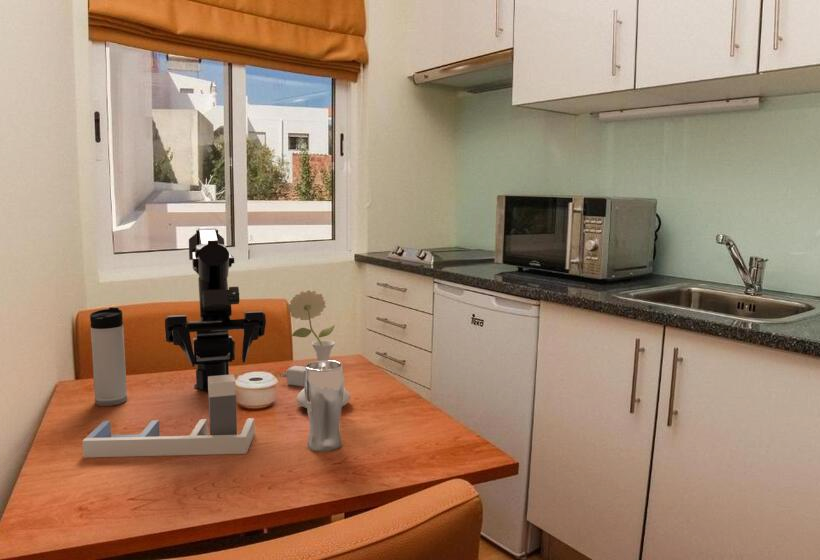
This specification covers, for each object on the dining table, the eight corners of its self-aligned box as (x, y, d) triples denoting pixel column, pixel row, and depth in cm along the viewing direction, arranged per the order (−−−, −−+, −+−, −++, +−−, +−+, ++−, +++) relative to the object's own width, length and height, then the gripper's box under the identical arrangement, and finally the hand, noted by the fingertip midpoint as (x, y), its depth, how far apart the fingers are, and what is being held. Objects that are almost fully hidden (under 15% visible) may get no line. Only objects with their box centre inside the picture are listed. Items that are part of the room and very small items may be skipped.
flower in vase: (351, 397, 141) (351, 286, 137) (348, 415, 129) (348, 295, 126) (293, 397, 140) (291, 285, 137) (284, 415, 129) (282, 294, 125)
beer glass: (350, 440, 116) (350, 361, 114) (333, 455, 110) (333, 372, 108) (316, 435, 119) (315, 358, 116) (298, 449, 112) (296, 368, 110)
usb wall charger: (303, 387, 147) (303, 371, 146) (277, 384, 149) (277, 367, 149) (312, 383, 151) (311, 366, 150) (287, 379, 153) (286, 363, 153)
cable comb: (254, 433, 119) (254, 418, 119) (246, 453, 110) (246, 437, 110) (104, 436, 117) (103, 421, 116) (83, 457, 108) (82, 440, 107)
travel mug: (133, 397, 139) (129, 307, 136) (117, 407, 132) (111, 313, 130) (106, 395, 139) (101, 306, 137) (88, 405, 133) (83, 312, 130)
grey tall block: (209, 439, 116) (207, 376, 114) (235, 436, 118) (233, 374, 116) (211, 448, 112) (208, 383, 110) (237, 445, 114) (235, 381, 112)
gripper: (163, 274, 119) (164, 344, 110) (263, 271, 125) (272, 337, 117) (165, 308, 127) (167, 376, 119) (259, 303, 134) (267, 367, 125)
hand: (219, 363), depth 120 cm, fingers open, 9 cm apart
